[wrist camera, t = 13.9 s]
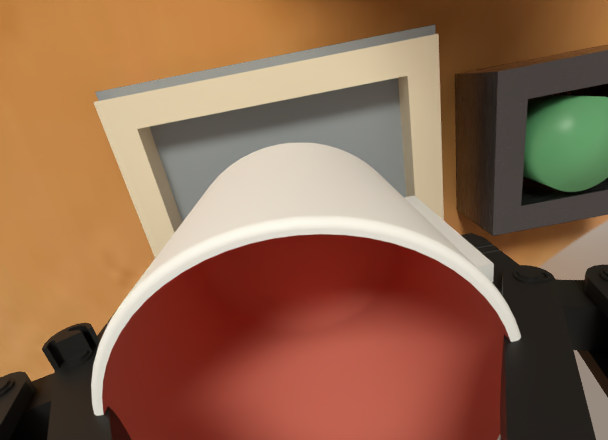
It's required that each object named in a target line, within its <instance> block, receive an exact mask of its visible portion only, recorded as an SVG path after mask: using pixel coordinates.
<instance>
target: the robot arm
mask: <svg viewBox="0 0 608 440" xmlns="http://www.w3.org/2000/svg"><path fill="white" fill-rule="evenodd" d="M404 198H405V199H406V200H407V201H408V202H409V203H410V204H411V205H412V206H413V207H414V208H415V209H416V210H418V211H419V212H420V213H421V214H422V215H423V216H424V217H425V218H426V219H427V220H428V221H429V222H430V223H431V224H432V225H433V226H434V227H435V228H436V229H437V230H438V231H439V232H441V233H442V234H443V235H444V236H445V237H446V238H447V239H448V240H449V241H450V242H451V243H452V244H453V245H454V246H455V247H456V248H457V249H458V250H459V251H460V252H461V253H463V254H464V255H465V256H466V257H467V258H468V259H469V260H470V261H471V262H472V263H473V264H474V265H475V266H476V267H477V268H478V269H479V270H480V271H481V272H482V273H483V274H484V275H485V276H486V277H487V278H488V279H489V280H490V281H491V282H492V283H493V284H494V286H495V287H496V288H497V289H498V291H499V292H500V293H501V295H502V296H503V298H504V299H505V301H506V302H507V304H508V306H509V308H510V310H511V312H512V314H513V316H514V318H515V320H516V323H517V325H518V328H519V331H520V334H521V338H520V339H519V340H518V341H513V342H511V341H510V340H509V339H508V338H507V337H506V336H505V334H504V340H503V352H502V370H501V396H500V437H501V440H596V438H595V434H594V430H593V426H592V422H591V418H590V414H589V410H588V406H587V403H586V398H585V394H584V390H583V386H582V382H581V379H580V375H579V371H578V367H577V363H576V359H575V355H574V351H573V350H577V351H578V352H579V354H580V355H581V357H582V358H583V360H584V361H585V363H586V364H587V366H588V368H589V369H590V371H591V372H592V374H593V375H594V377H595V378H596V380H597V382H598V383H599V385H600V386H601V388H602V389H603V391H604V392H605V394H606V395H607V397H608V265H598V266H593V267H591V268H588V269H587V271H586V274H585V280H555V278H554V276H553V275H552V274H551V273H549V272H548V271H546V270H543V269H541V268H538V267H533V266H527V265H519V264H517V263H516V262H515V261H513V260H512V259H511V258H510V257H508V256H507V255H506V254H504V253H503V252H502V251H499V249H498V248H497V247H495V246H494V245H492V244H491V243H490V242H489V241H488V240H486V239H485V238H483V237H481V236H478V235H475V234H472V233H470V234H465V235H460V234H459V233H458V232H456V231H455V230H454V229H453V228H452V227H451V226H449V225H448V224H447V223H446V222H445V221H444V220H442V219H441V218H440V217H439V216H438V215H437V214H435V213H434V212H433V211H432V210H431V209H430V208H428V207H427V206H426V205H425V204H424V203H423V202H422V201H420V200H419V199H418V198H417V197H416V196H415V195H414V196H409V197H404ZM116 311H117V310H116ZM114 314H115V313H114ZM114 314H113V315H114ZM111 318H112V317H111ZM111 318H110V320H111ZM110 320H109V321H110ZM109 321H108V323H109ZM107 325H108V324H106V325H105V326H104V328H103V329H102V330H101V332H100V333H99V334H98V336H97V335H96V333H95V331H94V329H93V327H92V326H91V324H89V323H80V324H76V325H73V326H70V327H68V328H66V329H64V330H62V331H60V332H58V333H57V334H55V335H54V336H52V337H51V338H50V339H49V340H48V341H47V342H46V343H45V344H44V346H43V348H42V350H43V352H44V353H45V355H46V357H47V358H48V360H49V362H50V363H51V365H52V367H53V368H54V370H55V373H53V374H50V375H48V376H45V377H43V378H40V379H38V380H35V381H32V382H31V380H30V379H29V377H28V376H27V374H26V373H25V372H15V373H11V374H8V375H6V376H4V377H0V440H131V438H130V436H129V434H128V432H127V430H126V429H125V427H124V425H123V424H122V422H121V420H120V419H119V418H118V416H117V415H116V414H115V412H114V411H113V410H112V409H111V408H110V407H109V406H108V408H107V410H106V412H105V413H104V415H100V416H96V415H95V414H94V411H93V406H92V392H91V381H92V372H93V364H94V360H95V357H96V353H97V350H98V346H99V343H100V340H101V338H102V336H103V334H104V332H105V330H106V328H107Z"/></svg>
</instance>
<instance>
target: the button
mask: <svg viewBox="0 0 608 440" xmlns="http://www.w3.org/2000/svg"><path fill="white" fill-rule="evenodd" d="M523 177H526V178H528V179H531V180H534V181H536V182H539V183H541V184H544V185H547V186H549V187H552V188H554V189H557V190H560V191H565V192H577V191H582V190H586V189H589V188H591V187H593V186H595V185H597V184H599V183H601V182H602V181H604V180H605V179H606V178H608V97H601V96H572V95H546V96H540V97H535V98H531V99H529V100H528V105H527V121H526V137H525V153H524V168H523Z"/></svg>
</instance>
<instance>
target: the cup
mask: <svg viewBox="0 0 608 440" xmlns="http://www.w3.org/2000/svg"><path fill="white" fill-rule="evenodd" d="M504 334H505V336H506V337H507V338H508V339H509V340H510V341H511V342H513V341H518V340H519V339H520V338H521V334H520V331H519V328H518V325H517V323H516V320H515V318H514V316H513V314H512V312H511V310H510V308H509V306H508V304H507V302H506V301H505V299H504V298H503V296H502V295H501V293H500V292H499V291H498V289H497V288H496V287H495V286H494V284H493V283H492V282H491V281H490V280H489V279H488V278H487V277H486V276H485V275H484V274H483V273H482V272H481V271H480V270H479V269H478V268H477V267H476V266H475V265H474V264H473V263H472V262H471V261H470V260H469V259H468V258H467V257H466V256H465V255H464V254H463V253H461V252H460V251H459V250H458V249H457V248H456V247H455V246H454V245H453V244H452V243H451V242H450V241H449V240H448V239H447V238H446V237H445V236H444V235H443V234H442V233H441V232H439V231H438V230H437V229H436V228H435V227H434V226H433V225H432V224H431V223H430V222H429V221H428V220H427V219H426V218H425V217H424V216H423V215H422V214H421V213H420V212H419V211H418V210H416V209H415V208H414V207H413V206H412V205H411V204H410V203H409V202H408V201H407V200H406V199H405V198H404V197H403V196H402V195H401V194H400V193H399V192H398V191H397V190H396V189H394V188H393V187H392V186H391V185H390V184H389V183H388V182H387V181H386V180H385V179H384V178H383V177H382V176H381V175H380V174H379V173H378V172H377V171H376V170H374V169H373V168H372V167H371V166H369V165H368V164H367V163H366V162H364V161H362V160H361V159H359V158H358V157H356V156H354V155H352V154H350V153H348V152H346V151H343V150H341V149H338V148H335V147H331V146H328V145H322V144H317V143H285V144H278V145H274V146H270V147H266V148H263V149H260V150H258V151H255V152H253V153H251V154H249V155H247V156H245V157H243V158H241V159H239V160H238V161H236V162H235V163H233V164H232V165H230V166H229V167H228V168H227V169H226V170H225V171H223V172H222V173H221V174H220V175H219V176H218V177H217V178H216V179H215V181H214V182H213V183H212V184H211V185H210V186H209V188H208V189H207V190H206V192H205V193H204V194H203V196H202V197H201V198H200V200H199V201H198V202H197V204H196V205H195V206H194V208H193V209H192V210H191V212H190V213H189V214H188V216H187V217H186V218H185V220H184V221H183V222H182V224H181V225H180V226H179V228H178V229H177V230H176V232H175V233H174V234H173V236H172V237H171V238H170V240H169V241H168V242H167V243H166V245H165V246H164V247H163V249H162V250H161V251H160V253H159V254H158V255H157V257H156V258H155V259H154V261H153V262H152V263H151V265H150V266H149V267H148V269H147V270H146V271H145V273H144V274H143V275H142V277H141V278H140V279H139V281H138V282H137V283H136V285H135V286H134V287H133V289H132V290H131V291H130V293H129V294H128V295H127V297H126V298H125V299H124V301H123V302H122V303H121V305H120V306H119V308H118V309H117V311H116V312H115V314H114V315H113V317H112V318H111V320H110V321H109V323H108V325H107V328H106V330H105V332H104V334H103V336H102V338H101V340H100V343H99V346H98V350H97V353H96V357H95V360H94V364H93V372H92V381H91V392H92V406H93V411H94V414H95V415H96V416H100V415H104V413H105V412H106V410H107V408H108V406H109V407H110V408H111V409H112V410H113V411H114V412H115V414H116V415H117V416H118V418H119V419H120V420H121V422H122V424H123V425H124V427H125V429H126V430H127V432H128V434H129V436H130V438H131V440H501V437H500V396H501V370H502V352H503V340H504Z"/></svg>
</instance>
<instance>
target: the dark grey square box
mask: <svg viewBox="0 0 608 440" xmlns="http://www.w3.org/2000/svg"><path fill="white" fill-rule="evenodd" d="M571 90H572V93H571V95H572V96H601V97H608V45H603V46H597V47H592V48H587V49H582V50H577V51H572V52H567V53H562V54H556V55H551V56H546V57H541V58H536V59H531V60H526V61H521V62H516V63H511V64H506V65H500V66H495V67H490V68H485V69H480V70H475V71H470V72H465V73H460V74H455V101H456V180H457V210H458V211H459V212H461V213H462V214H463V215H465V216H466V217H468V218H469V219H470V220H472V221H473V222H474V223H476V224H477V225H479V226H480V227H481V228H483V229H484V230H486V231H487V232H488V233H490V234H491V235H492V236H495V235H500V234H505V233H511V232H516V231H521V230H527V229H532V228H538V227H543V226H548V225H554V224H559V223H564V222H570V221H575V220H580V219H586V218H591V217H597V216H602V215H607V214H608V178H606V179H605V180H604V181H602V182H601V183H599V184H597V185H595V186H593V187H591V188H589V189H586V190H582V191H577V192H565V191H560V190H557V189H554V188H552V187H549V186H547V185H544V184H541V183H539V182H536V181H534V180H531V179H528V178H526V177H523V168H524V153H525V137H526V121H527V105H528V99H530V98H535V97H540V96H546V95H551V94H556V93H561V92H566V91H571Z"/></svg>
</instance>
